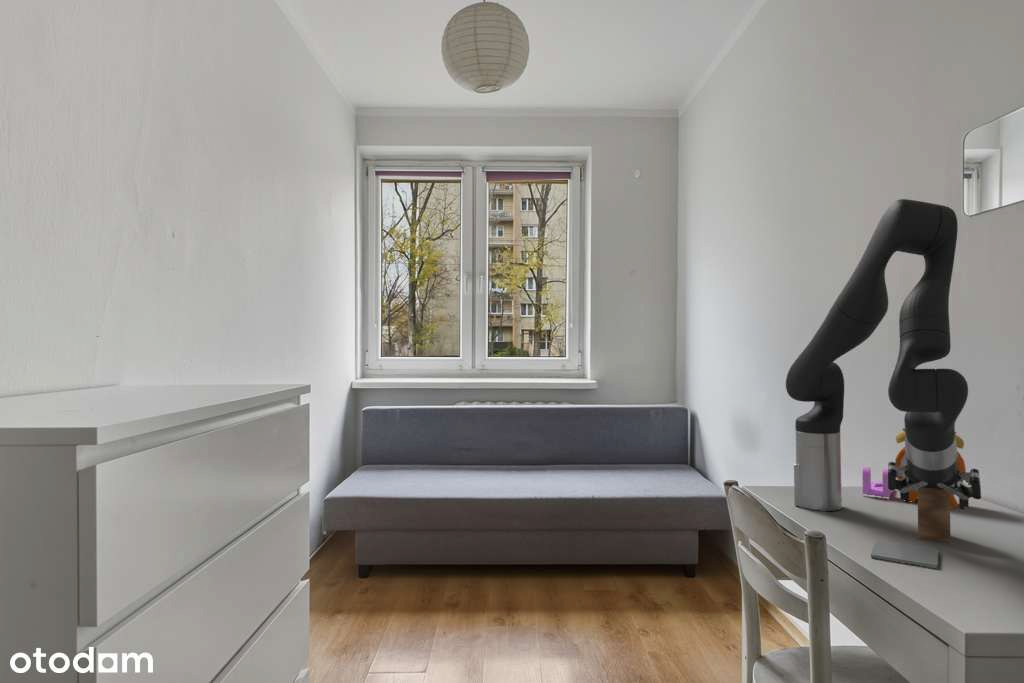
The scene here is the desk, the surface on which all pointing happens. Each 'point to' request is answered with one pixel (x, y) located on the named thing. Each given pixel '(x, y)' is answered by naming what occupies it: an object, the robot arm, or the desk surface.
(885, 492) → the bracket
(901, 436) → the alarm clock
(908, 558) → the slate pad
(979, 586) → the desk surface
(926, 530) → the walnut block
